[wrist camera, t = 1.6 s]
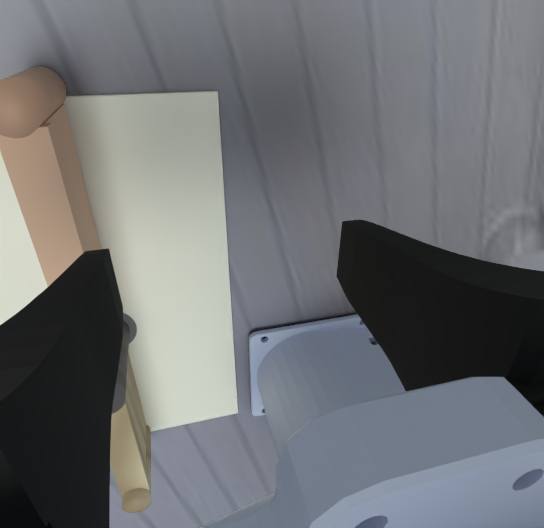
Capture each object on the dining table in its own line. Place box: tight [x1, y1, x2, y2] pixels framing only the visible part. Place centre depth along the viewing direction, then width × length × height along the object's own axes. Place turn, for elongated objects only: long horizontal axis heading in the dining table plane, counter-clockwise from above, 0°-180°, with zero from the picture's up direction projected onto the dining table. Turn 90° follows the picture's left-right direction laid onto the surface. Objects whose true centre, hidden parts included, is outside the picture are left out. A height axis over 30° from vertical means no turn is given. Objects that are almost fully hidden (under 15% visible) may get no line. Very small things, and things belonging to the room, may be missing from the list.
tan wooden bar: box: [0, 66, 101, 287], centre depth 17 cm, size 2×12×5 cm, turn 179°
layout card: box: [0, 91, 238, 431], centre depth 22 cm, size 20×22×1 cm
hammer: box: [110, 321, 151, 513], centre depth 23 cm, size 2×11×6 cm, turn 179°
